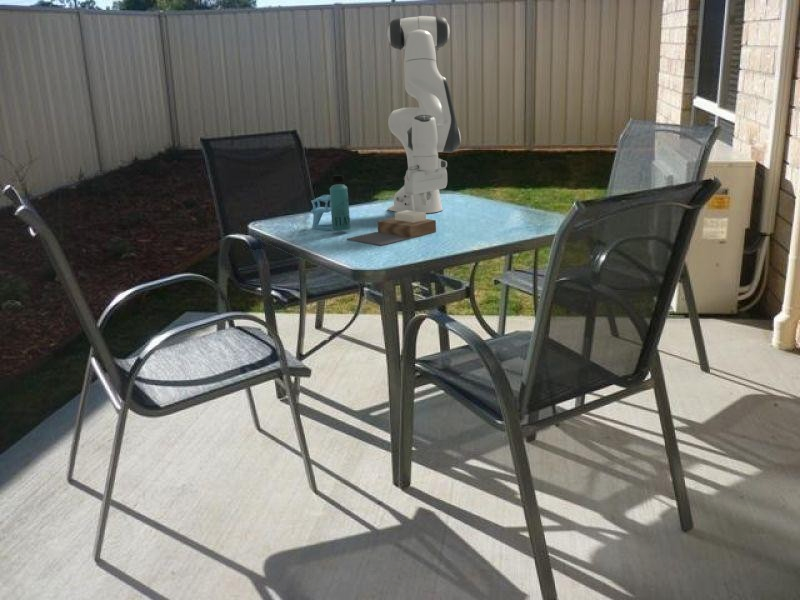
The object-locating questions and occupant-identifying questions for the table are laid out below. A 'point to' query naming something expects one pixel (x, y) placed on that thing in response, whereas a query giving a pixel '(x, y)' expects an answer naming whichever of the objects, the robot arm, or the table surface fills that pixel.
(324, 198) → the chair
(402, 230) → the block
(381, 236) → the charcoal mat
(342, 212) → the beverage bottle
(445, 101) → the robot arm
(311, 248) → the table surface
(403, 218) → the cream tile
